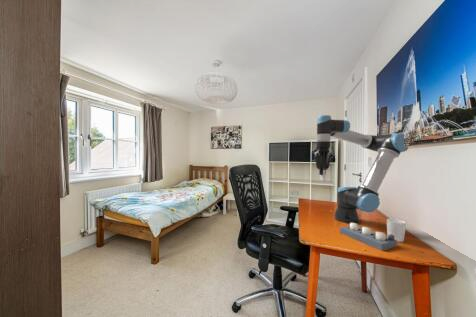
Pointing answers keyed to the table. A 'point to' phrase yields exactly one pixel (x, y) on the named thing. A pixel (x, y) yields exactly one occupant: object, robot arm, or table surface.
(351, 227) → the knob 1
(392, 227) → the white cup
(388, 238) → the grey egg holder
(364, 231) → the white oval solid
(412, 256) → the table surface
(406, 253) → the table surface
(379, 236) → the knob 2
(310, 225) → the table surface
